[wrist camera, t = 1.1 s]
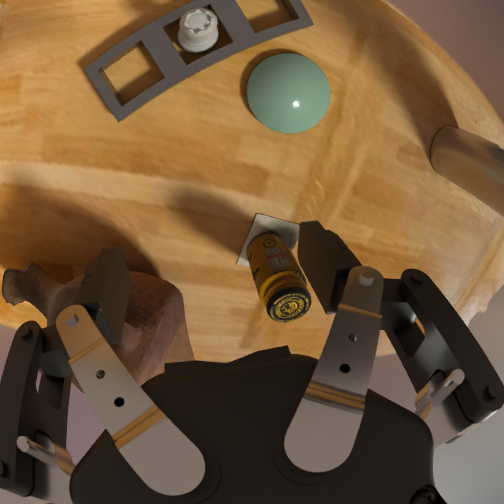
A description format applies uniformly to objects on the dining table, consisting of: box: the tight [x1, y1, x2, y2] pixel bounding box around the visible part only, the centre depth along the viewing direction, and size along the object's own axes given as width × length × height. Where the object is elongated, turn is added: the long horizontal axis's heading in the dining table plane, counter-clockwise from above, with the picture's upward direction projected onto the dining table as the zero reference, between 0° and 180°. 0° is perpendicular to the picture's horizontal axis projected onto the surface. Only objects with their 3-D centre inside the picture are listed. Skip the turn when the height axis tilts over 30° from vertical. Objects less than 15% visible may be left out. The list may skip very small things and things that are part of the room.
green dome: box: [246, 53, 330, 133], centre depth 28 cm, size 10×10×1 cm
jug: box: [2, 262, 195, 394], centre depth 31 cm, size 20×20×30 cm
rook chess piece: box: [177, 8, 219, 54], centre depth 19 cm, size 4×4×8 cm
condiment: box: [237, 214, 311, 323], centre depth 35 cm, size 7×8×12 cm
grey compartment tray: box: [84, 0, 314, 122], centre depth 21 cm, size 24×8×2 cm, turn 116°
